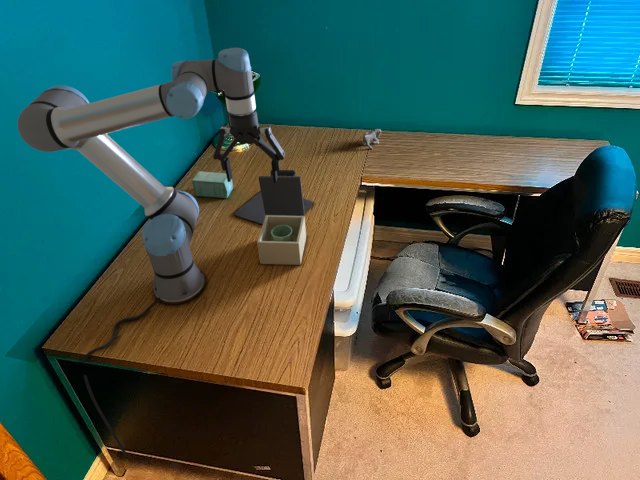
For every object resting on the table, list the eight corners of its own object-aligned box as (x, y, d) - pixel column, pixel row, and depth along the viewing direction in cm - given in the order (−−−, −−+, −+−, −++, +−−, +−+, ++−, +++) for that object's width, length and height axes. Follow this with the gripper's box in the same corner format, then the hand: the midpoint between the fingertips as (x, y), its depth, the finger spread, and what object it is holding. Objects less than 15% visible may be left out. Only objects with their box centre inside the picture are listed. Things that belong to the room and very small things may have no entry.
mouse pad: (314, 202, 182) (314, 202, 182) (284, 232, 168) (284, 231, 168) (264, 188, 191) (264, 187, 191) (232, 214, 178) (232, 214, 178)
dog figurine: (369, 151, 212) (369, 135, 208) (359, 147, 215) (359, 131, 211) (385, 140, 219) (386, 125, 215) (375, 137, 222) (375, 122, 218)
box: (228, 198, 187) (224, 182, 182) (195, 196, 189) (191, 180, 185) (234, 188, 193) (231, 172, 188) (202, 187, 195) (198, 170, 190)
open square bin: (300, 265, 154) (298, 243, 149) (260, 263, 156) (256, 242, 150) (306, 237, 166) (304, 216, 160) (268, 236, 167) (265, 215, 162)
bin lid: (300, 178, 149) (302, 163, 154) (258, 177, 150) (262, 163, 155) (304, 215, 160) (306, 200, 165) (265, 214, 161) (268, 200, 166)
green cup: (290, 257, 156) (288, 238, 152) (270, 254, 158) (267, 236, 153) (296, 244, 162) (294, 226, 157) (277, 241, 163) (275, 223, 158)
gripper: (290, 104, 130) (296, 173, 143) (200, 105, 132) (214, 172, 146) (286, 116, 124) (293, 187, 137) (192, 116, 127) (207, 186, 140)
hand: (252, 179), depth 141 cm, fingers open, 13 cm apart
